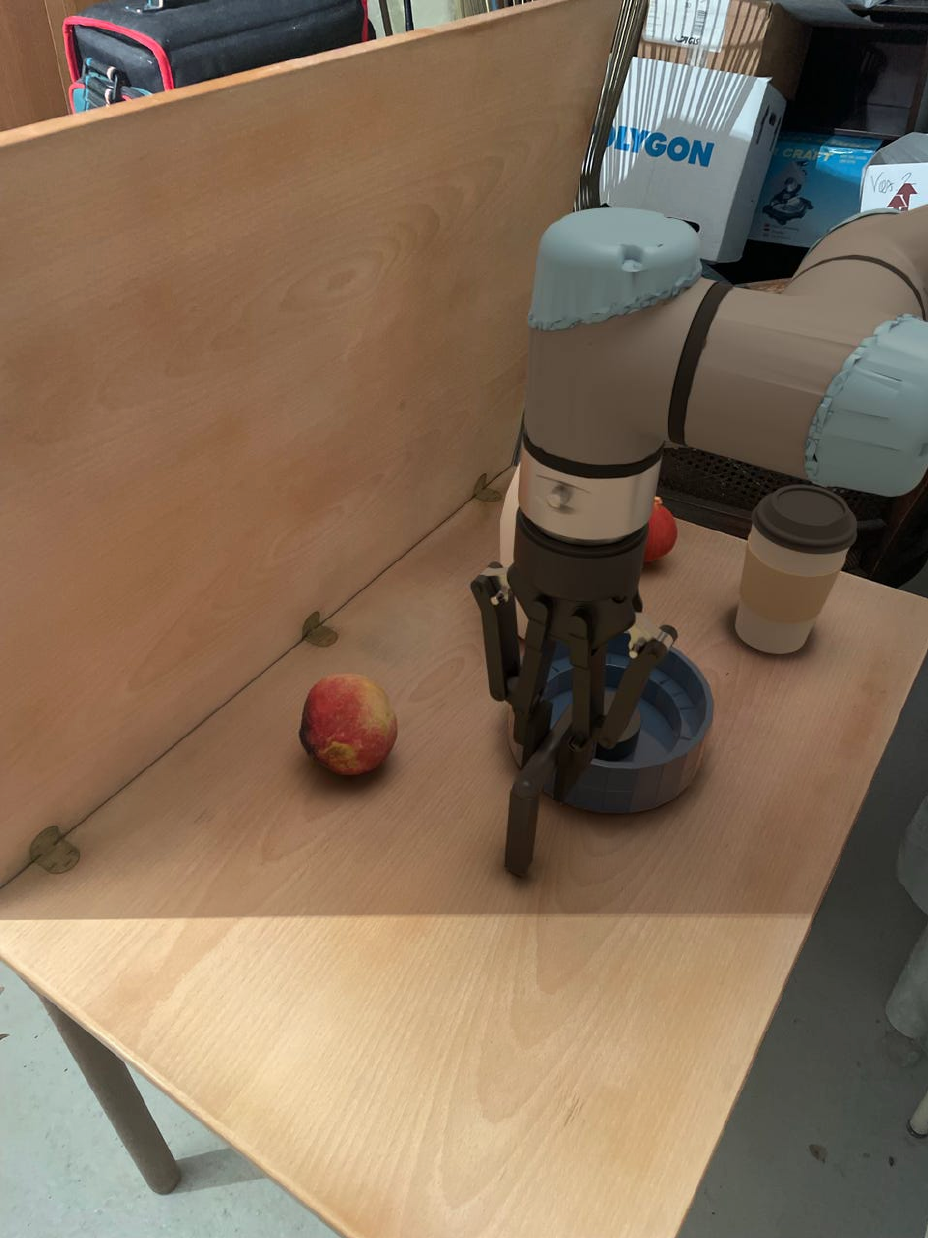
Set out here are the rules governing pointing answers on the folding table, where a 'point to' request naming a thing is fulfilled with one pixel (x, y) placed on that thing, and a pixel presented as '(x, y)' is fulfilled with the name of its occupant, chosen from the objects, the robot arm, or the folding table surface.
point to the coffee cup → (791, 565)
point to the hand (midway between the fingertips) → (549, 781)
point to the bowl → (666, 738)
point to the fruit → (348, 724)
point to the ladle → (535, 777)
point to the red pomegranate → (660, 533)
